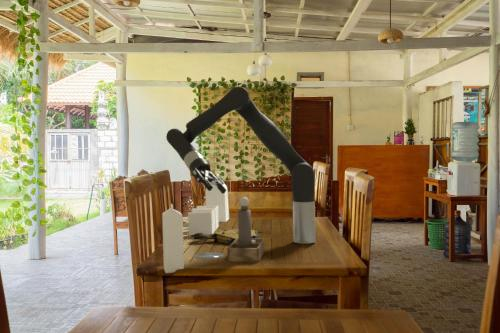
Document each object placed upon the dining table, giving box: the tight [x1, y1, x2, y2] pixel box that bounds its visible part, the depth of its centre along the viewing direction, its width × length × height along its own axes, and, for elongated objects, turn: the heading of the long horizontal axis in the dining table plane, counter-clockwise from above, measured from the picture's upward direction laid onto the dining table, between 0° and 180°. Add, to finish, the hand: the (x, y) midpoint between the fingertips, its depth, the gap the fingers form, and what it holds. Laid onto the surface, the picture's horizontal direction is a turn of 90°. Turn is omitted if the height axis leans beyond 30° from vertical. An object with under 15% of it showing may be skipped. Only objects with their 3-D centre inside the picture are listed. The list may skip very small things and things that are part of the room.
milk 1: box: [161, 203, 185, 274], centre depth 153 cm, size 6×6×22 cm
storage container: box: [187, 205, 220, 236], centre depth 227 cm, size 25×11×11 cm, turn 177°
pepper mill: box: [237, 196, 252, 248], centre depth 163 cm, size 5×5×22 cm
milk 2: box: [205, 173, 230, 223], centre depth 259 cm, size 12×12×26 cm
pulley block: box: [192, 228, 264, 245], centre depth 199 cm, size 14×6×30 cm
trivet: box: [193, 251, 225, 260], centre depth 169 cm, size 11×11×1 cm
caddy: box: [226, 237, 266, 263], centre depth 168 cm, size 11×18×6 cm, turn 172°
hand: (218, 190), depth 179 cm, fingers open, 8 cm apart
